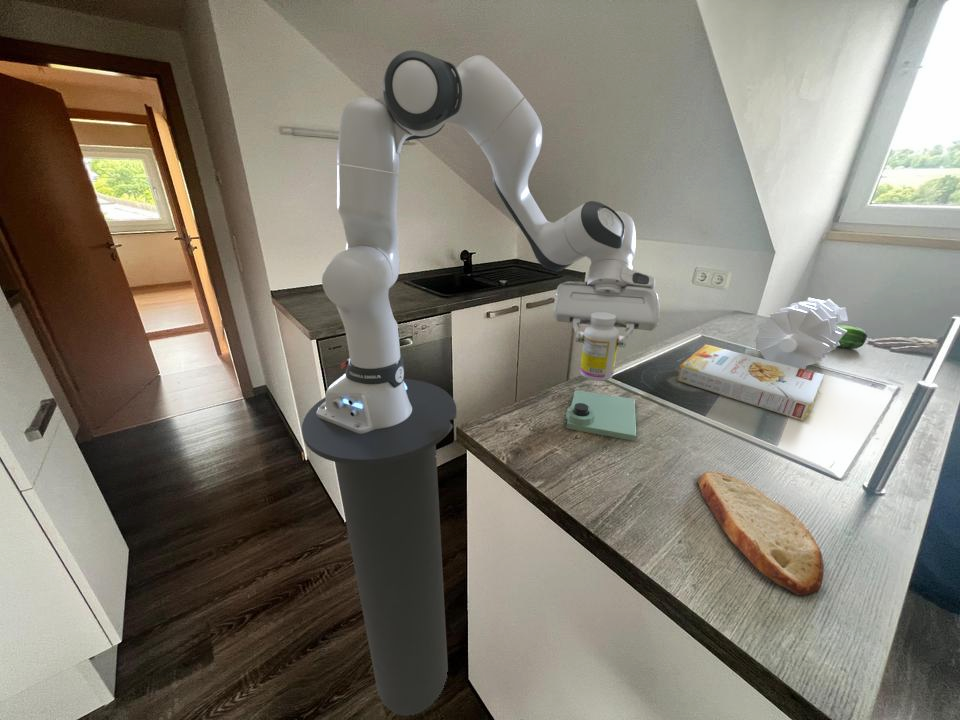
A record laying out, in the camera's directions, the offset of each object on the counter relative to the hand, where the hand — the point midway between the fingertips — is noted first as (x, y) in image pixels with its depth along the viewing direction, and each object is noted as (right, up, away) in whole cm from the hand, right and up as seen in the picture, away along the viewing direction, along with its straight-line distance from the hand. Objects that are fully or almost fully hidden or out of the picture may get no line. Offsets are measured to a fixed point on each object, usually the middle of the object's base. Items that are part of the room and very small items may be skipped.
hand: (600, 343), depth 76 cm
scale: (+4, -16, +12) cm, 21 cm away
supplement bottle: (0, -7, +3) cm, 7 cm away
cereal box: (+46, -11, +25) cm, 54 cm away
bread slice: (+18, -29, -17) cm, 38 cm away
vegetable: (+92, +2, +54) cm, 107 cm away
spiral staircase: (+71, -3, +42) cm, 83 cm away
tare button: (-2, -15, +8) cm, 17 cm away
